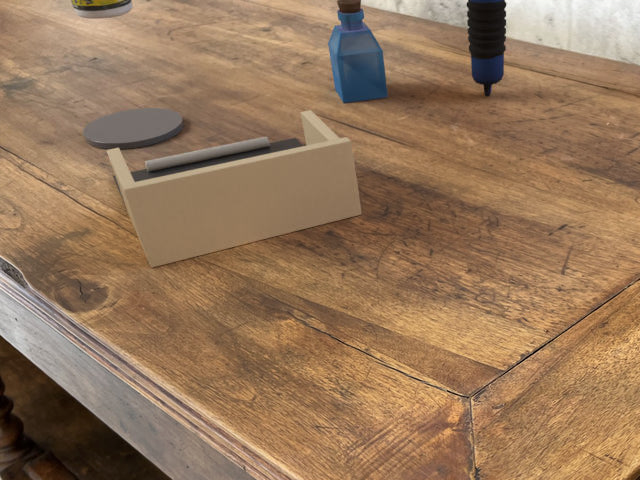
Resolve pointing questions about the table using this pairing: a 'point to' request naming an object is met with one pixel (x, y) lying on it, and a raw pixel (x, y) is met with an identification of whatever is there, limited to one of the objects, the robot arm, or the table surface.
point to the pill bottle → (101, 8)
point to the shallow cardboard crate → (238, 192)
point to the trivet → (133, 128)
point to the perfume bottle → (356, 56)
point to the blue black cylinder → (487, 41)
